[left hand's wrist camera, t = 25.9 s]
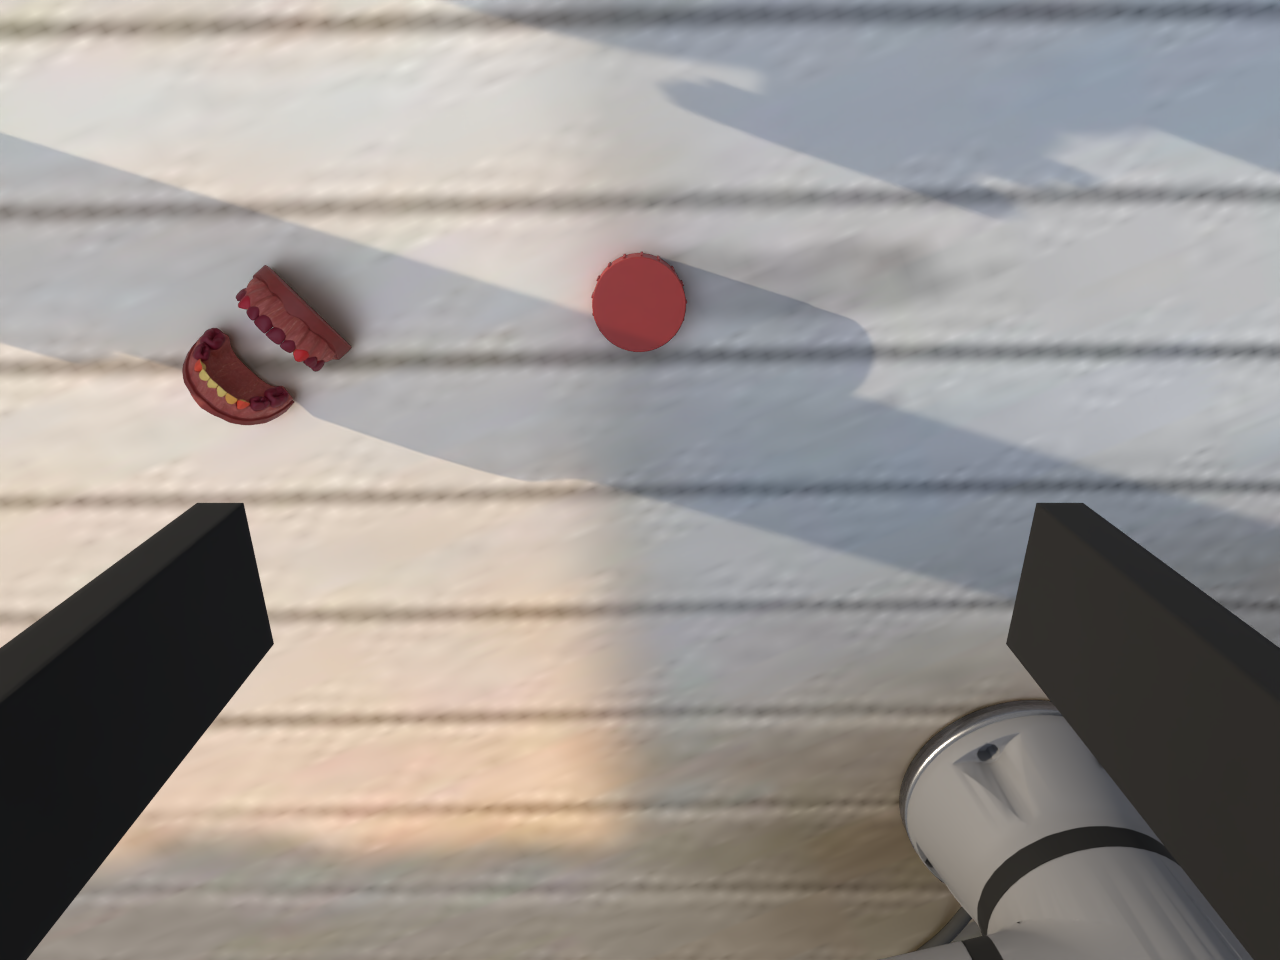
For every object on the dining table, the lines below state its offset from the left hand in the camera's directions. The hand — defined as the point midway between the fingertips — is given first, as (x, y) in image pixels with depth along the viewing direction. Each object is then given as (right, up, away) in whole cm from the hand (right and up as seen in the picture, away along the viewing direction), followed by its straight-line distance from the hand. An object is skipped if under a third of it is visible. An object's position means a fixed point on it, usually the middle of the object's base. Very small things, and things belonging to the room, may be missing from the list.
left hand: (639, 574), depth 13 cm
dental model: (-19, +9, +27) cm, 35 cm away
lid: (0, +10, +25) cm, 27 cm away
